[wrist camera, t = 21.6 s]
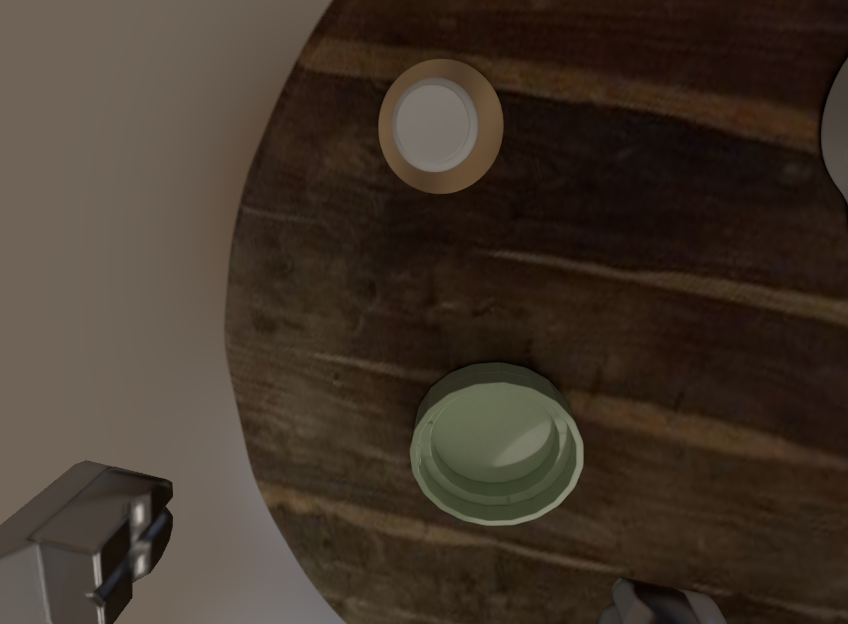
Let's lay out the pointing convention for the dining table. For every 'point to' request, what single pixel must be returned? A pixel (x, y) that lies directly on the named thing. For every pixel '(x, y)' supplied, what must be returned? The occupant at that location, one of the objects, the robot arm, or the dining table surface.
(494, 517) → the bowl
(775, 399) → the dining table surface
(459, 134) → the pill bottle
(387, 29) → the dining table surface
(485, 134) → the coaster
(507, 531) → the dining table surface
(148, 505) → the robot arm
